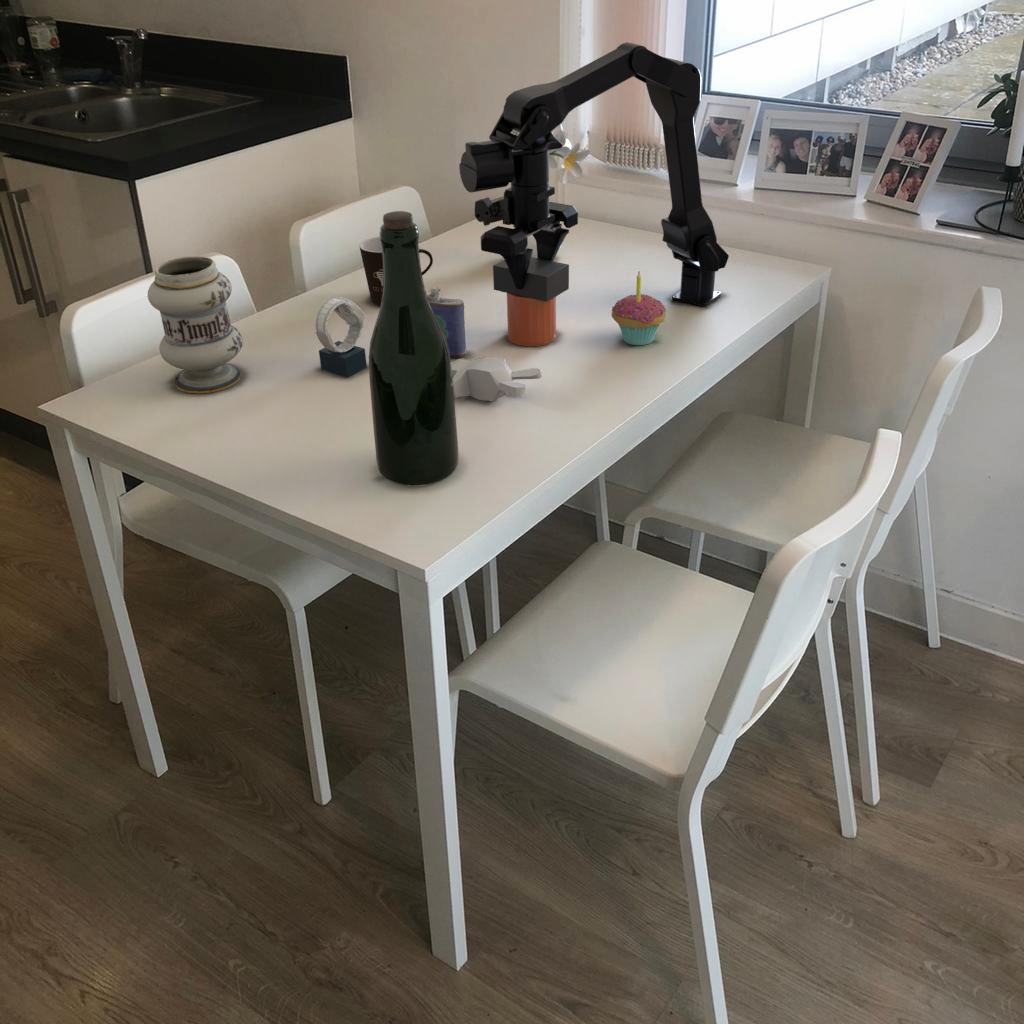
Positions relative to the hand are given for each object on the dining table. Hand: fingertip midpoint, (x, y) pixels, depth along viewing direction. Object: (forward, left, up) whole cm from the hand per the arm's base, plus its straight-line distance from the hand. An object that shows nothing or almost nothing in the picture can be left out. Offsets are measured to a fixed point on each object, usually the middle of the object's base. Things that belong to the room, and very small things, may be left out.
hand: (531, 282), depth 168 cm
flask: (+13, -9, -9) cm, 18 cm away
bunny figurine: (+21, +6, -9) cm, 24 cm away
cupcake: (-8, +15, -9) cm, 19 cm away
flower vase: (-32, -19, -9) cm, 38 cm away
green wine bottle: (+43, +11, -9) cm, 45 cm away
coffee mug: (-1, -29, -9) cm, 31 cm away
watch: (+25, -18, -9) cm, 32 cm away
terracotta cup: (0, 0, -9) cm, 9 cm away
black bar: (0, 0, -1) cm, 1 cm away
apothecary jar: (+39, -33, -9) cm, 52 cm away
